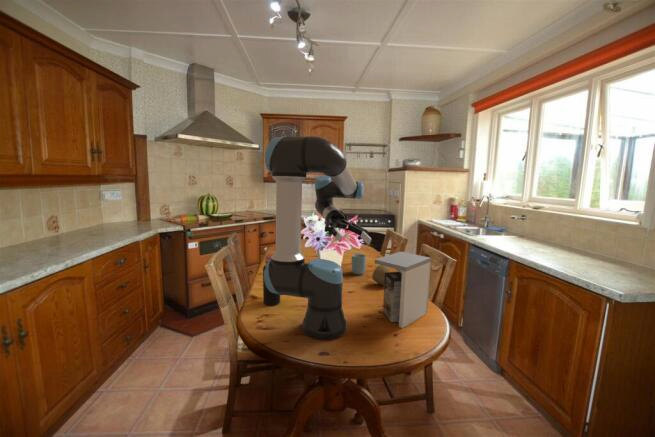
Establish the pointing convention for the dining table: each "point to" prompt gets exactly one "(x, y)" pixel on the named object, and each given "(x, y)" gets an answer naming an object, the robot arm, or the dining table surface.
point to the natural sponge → (380, 274)
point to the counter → (410, 284)
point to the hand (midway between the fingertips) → (355, 240)
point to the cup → (358, 263)
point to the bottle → (268, 296)
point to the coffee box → (392, 295)
